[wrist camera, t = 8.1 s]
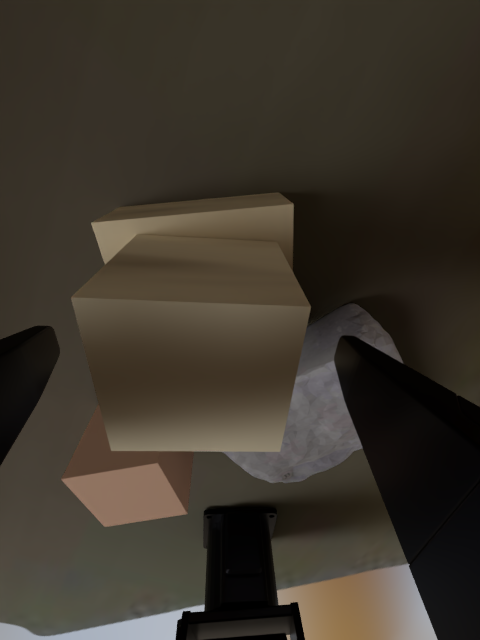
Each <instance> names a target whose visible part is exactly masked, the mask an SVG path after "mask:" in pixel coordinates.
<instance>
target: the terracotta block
mask: <svg viewBox="0 0 480 640" xmlns="http://www.w3.org/2000/svg"><path fill="white" fill-rule="evenodd" d="M193 454H194V451H111V448H110V444H109V441H108V437H107V433H106V429H105V425H104V422H103V418H102V414H101V410H100V406H99V404H98V406H97V408H96V410H95V412H94V414H93V416H92V418H91V420H90V422H89V424H88V426H87V428H86V430H85V432H84V434H83V436H82V438H81V440H80V442H79V444H78V446H77V448H76V450H75V452H74V454H73V456H72V458H71V460H70V462H69V464H68V466H67V468H66V470H65V472H64V474H63V476H62V479H61V480H62V481H63V482H64V483H65V484H66V485H67V486H68V487H69V488H70V490H71V491H72V492H73V493H74V494H75V495H76V496H77V497H78V498H79V499H80V500H81V502H82V503H83V504H84V505H85V506H86V507H87V508H88V509H89V510H90V511H91V512H92V514H93V515H94V516H95V517H96V518H97V519H98V520H99V521H100V522H101V523H102V524H103V526H104V527H108V526H114V525H120V524H127V523H133V522H140V521H146V520H152V519H159V518H165V517H172V516H178V515H184V514H187V513H188V503H189V493H190V483H191V473H192V463H193Z"/></svg>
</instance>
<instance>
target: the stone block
mask: <svg viewBox="0 0 480 640" xmlns="http://www.w3.org/2000/svg"><path fill="white" fill-rule="evenodd" d="M342 335H352V336H355V337H357V338H359V339H361V340H362V341H364V342H366V343H368V344H369V345H371V346H373V347H375V348H377V349H378V350H380V351H382V352H384V353H385V354H387V355H389V356H391V357H392V358H394V359H396V360H398V361H399V362H401V363H403V361H402V359H401V357H400V355H399V352H398V351H397V349H396V347H395V344H394V342H393V340H392V338H391V337H390V335H389V333H387V332H386V331H385V330H384V329H383V328H382V326H381V325H380V324H379V322H377V321H376V320H375V319H373V318H372V317H371V315H370V314H369V313H368V312H366V311H365V310H364V309H363V308H361V307H360V306H359V305H357V304H354V303H349V304H347V305H344V306H341V307H339V308H337V309H336V310H334V311H332V312H331V313H329V314H327V315H326V316H324V317H323V318H321V319H319V320H317V321H316V322H314V323H313V324H311V325H309V326H308V327H307V328H306V333H305V338H304V342H303V347H302V352H301V356H300V361H299V366H298V370H297V375H296V380H295V384H294V389H293V394H292V398H291V403H290V408H289V413H288V417H287V422H286V427H285V431H284V436H283V441H282V445H281V450H280V452H223V453H225V454H226V455H227V456H228V457H229V458H230V459H232V460H233V461H234V462H235V463H236V464H238V465H239V466H241V467H242V468H243V469H244V470H245V471H246V472H248V473H249V474H251V475H252V476H253V477H256V478H259V479H264V480H266V481H268V482H271V483H275V482H284V483H289V482H298V481H302V480H304V479H306V478H308V477H309V476H311V475H313V474H316V473H318V472H322V471H326V470H328V469H330V468H332V467H334V466H336V465H338V464H340V463H341V462H343V461H344V460H345V459H346V458H348V457H349V456H350V454H351V453H352V452H353V451H355V450H358V449H361V448H363V447H362V445H361V442H360V440H359V437H358V435H357V432H356V430H355V427H354V425H353V422H352V419H351V417H350V414H349V412H348V409H347V407H346V404H345V401H344V397H343V394H342V390H341V386H340V382H339V379H338V375H337V371H336V367H335V363H334V355H335V351H336V348H337V344H338V341H339V338H340V337H341V336H342Z"/></svg>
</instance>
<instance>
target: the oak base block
mask: <svg viewBox="0 0 480 640" xmlns="http://www.w3.org/2000/svg"><path fill="white" fill-rule="evenodd" d="M293 216H294V204H293V203H292V202H290V201H289V200H288V199H287V198H285V197H284V196H283V195H281V194H280V193H279V192H277V193H266V194H255V195H244V196H234V197H223V198H212V199H201V200H190V201H179V202H169V203H158V204H147V205H136V206H125V207H119V208H117V209H115V210H113V211H112V212H110V213H108V214H106V215H104V216H103V217H101V218H99V219H97V220H95V221H93V222H92V223H91V224H92V227H93V230H94V233H95V236H96V239H97V242H98V245H99V248H100V251H101V254H102V257H103V260H104V263H105V264H106V263H107V262H109V261H110V260H111V259H112V258H113V257H114V256H115V255H116V254H117V253H118V252H119V251H120V250H121V249H122V248H123V247H124V246H125V245H126V244H127V243H128V242H129V241H131V240H132V239H133V238H134V237H135V236H136V235H137V234H139V235H158V236H177V237H196V238H215V239H234V240H253V241H271V242H277V243H278V245H279V246H280V248H281V250H282V252H283V254H284V256H285V258H286V260H287V262H288V264H289V266H290V268H291V269H292V271H293Z"/></svg>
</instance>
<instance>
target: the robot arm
mask: <svg viewBox="0 0 480 640" xmlns="http://www.w3.org/2000/svg"><path fill="white" fill-rule="evenodd" d="M59 354H60V348H59V344H58V341H57V338H56V335H55V331H54V329H53V328H52V327H50V326H34V327H32V328H29V329H26V330H24V331H21V332H19V333H16V334H13V335H11V336H8V337H6V338H3V339H1V340H0V466H1V464H2V462H3V461H4V459H5V457H6V456H7V454H8V452H9V450H10V449H11V447H12V445H13V444H14V442H15V440H16V439H17V437H18V435H19V433H20V432H21V430H22V428H23V427H24V425H25V423H26V422H27V420H28V418H29V416H30V415H31V413H32V411H33V410H34V408H35V406H36V405H37V403H38V401H39V399H40V397H41V395H42V393H43V391H44V389H45V387H46V384H47V382H48V380H49V378H50V375H51V373H52V371H53V369H54V366H55V364H56V362H57V360H58V357H59ZM334 363H335V367H336V371H337V375H338V379H339V382H340V386H341V390H342V394H343V397H344V401H345V404H346V407H347V409H348V412H349V414H350V417H351V419H352V422H353V425H354V427H355V430H356V432H357V435H358V437H359V440H360V442H361V445H362V447H363V450H364V453H365V455H366V458H367V460H368V463H369V465H370V468H371V470H372V473H373V475H374V478H375V481H376V483H377V486H378V488H379V491H380V493H381V496H382V498H383V501H384V503H385V506H386V509H387V511H388V514H389V516H390V519H391V521H392V524H393V526H394V529H395V531H396V534H397V536H398V539H399V542H400V544H401V547H402V549H403V552H404V554H405V557H406V559H407V562H408V564H410V565H409V567H410V570H411V573H412V575H413V578H414V580H415V583H416V585H417V588H418V591H419V593H420V596H421V598H422V600H423V603H424V606H425V608H426V611H427V613H428V616H429V618H430V621H431V623H432V626H433V629H434V631H435V634H436V636H437V639H438V640H480V407H479V406H477V405H475V404H473V403H472V402H470V401H468V400H466V399H465V398H463V397H461V396H457V394H456V393H454V392H452V391H450V390H449V389H447V388H445V387H443V386H442V385H440V384H438V383H436V382H435V381H433V380H431V379H429V378H427V377H426V376H424V375H422V374H420V373H419V372H417V371H415V370H413V369H412V368H410V367H408V366H406V365H405V364H403V363H401V362H399V361H398V360H396V359H394V358H392V357H391V356H389V355H387V354H385V353H384V352H382V351H380V350H378V349H377V348H375V347H373V346H371V345H369V344H368V343H366V342H364V341H362V340H361V339H359V338H357V337H355V336H352V335H342V336H341V337H340V338H339V341H338V344H337V348H336V351H335V355H334ZM276 519H277V510H276V509H273V508H266V509H208V510H205V511H204V542H203V547H204V548H206V549H207V565H206V588H205V611H204V612H190V611H183V614H182V619H180V620H178V622H177V632H176V640H287V637H286V635H290V638H291V640H305V638H304V632H303V627H302V622H301V617H300V612H299V607H298V603H297V602H295V603H291V604H290V605H278V598H277V589H276V581H275V572H274V564H273V555H272V547H271V539H272V535H273V531H274V527H275V523H276Z"/></svg>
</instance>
